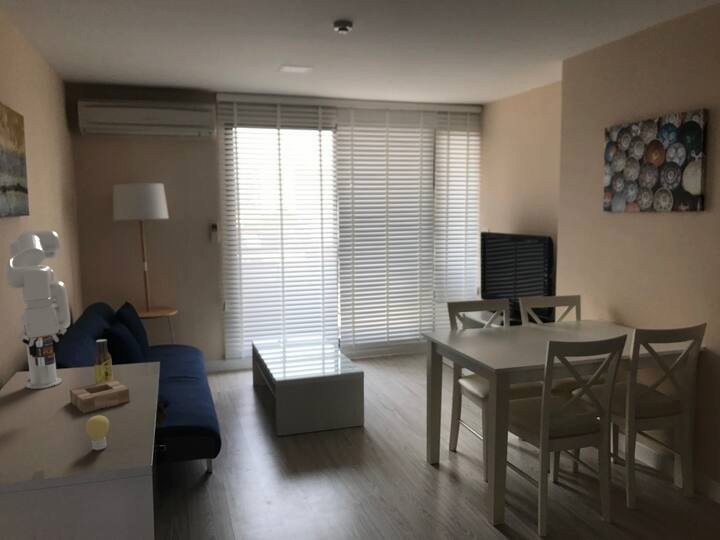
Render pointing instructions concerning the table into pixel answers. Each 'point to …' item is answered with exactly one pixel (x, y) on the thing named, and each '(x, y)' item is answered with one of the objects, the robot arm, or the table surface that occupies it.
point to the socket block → (99, 395)
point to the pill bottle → (44, 351)
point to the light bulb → (97, 431)
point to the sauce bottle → (102, 363)
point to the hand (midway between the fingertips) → (44, 354)
